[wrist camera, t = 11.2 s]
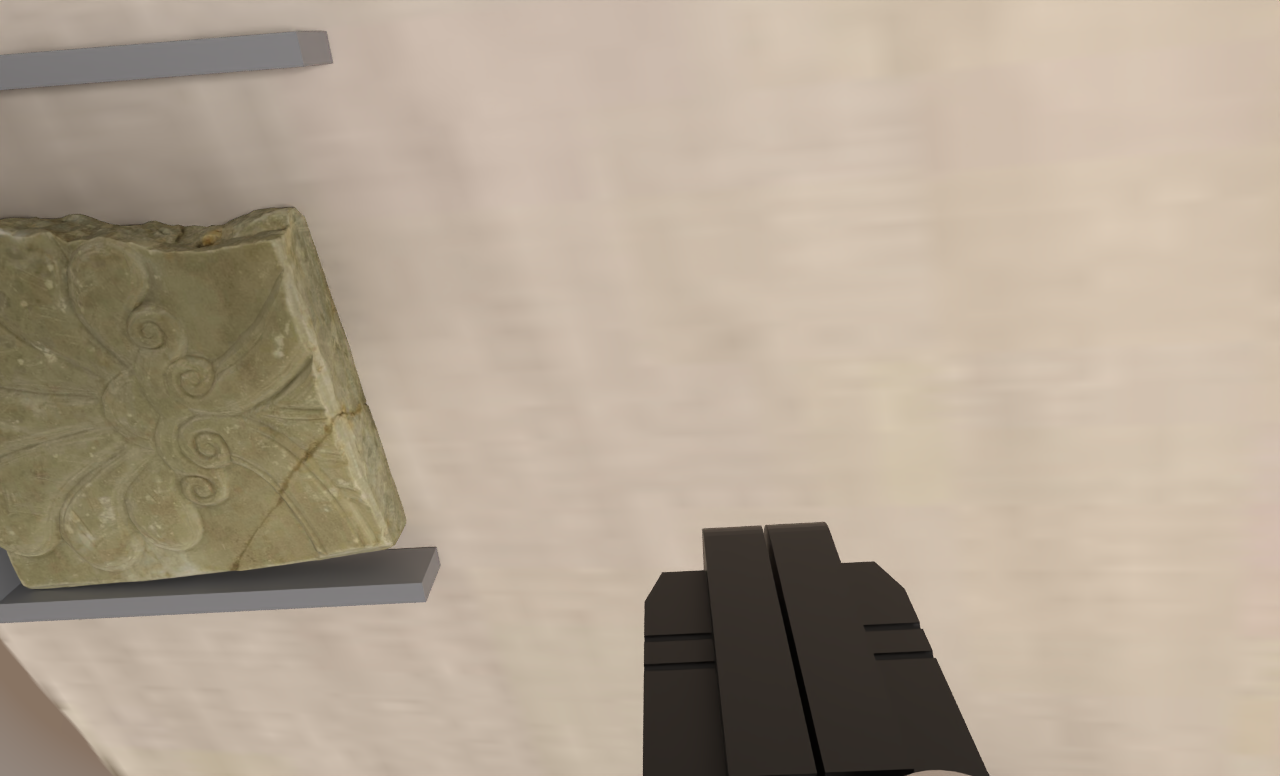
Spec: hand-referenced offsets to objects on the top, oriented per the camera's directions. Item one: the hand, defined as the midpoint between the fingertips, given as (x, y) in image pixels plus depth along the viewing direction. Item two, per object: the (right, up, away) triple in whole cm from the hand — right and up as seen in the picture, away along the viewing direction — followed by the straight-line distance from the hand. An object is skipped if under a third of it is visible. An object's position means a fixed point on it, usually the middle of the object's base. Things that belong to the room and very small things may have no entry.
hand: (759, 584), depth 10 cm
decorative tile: (-25, +3, +30) cm, 39 cm away
